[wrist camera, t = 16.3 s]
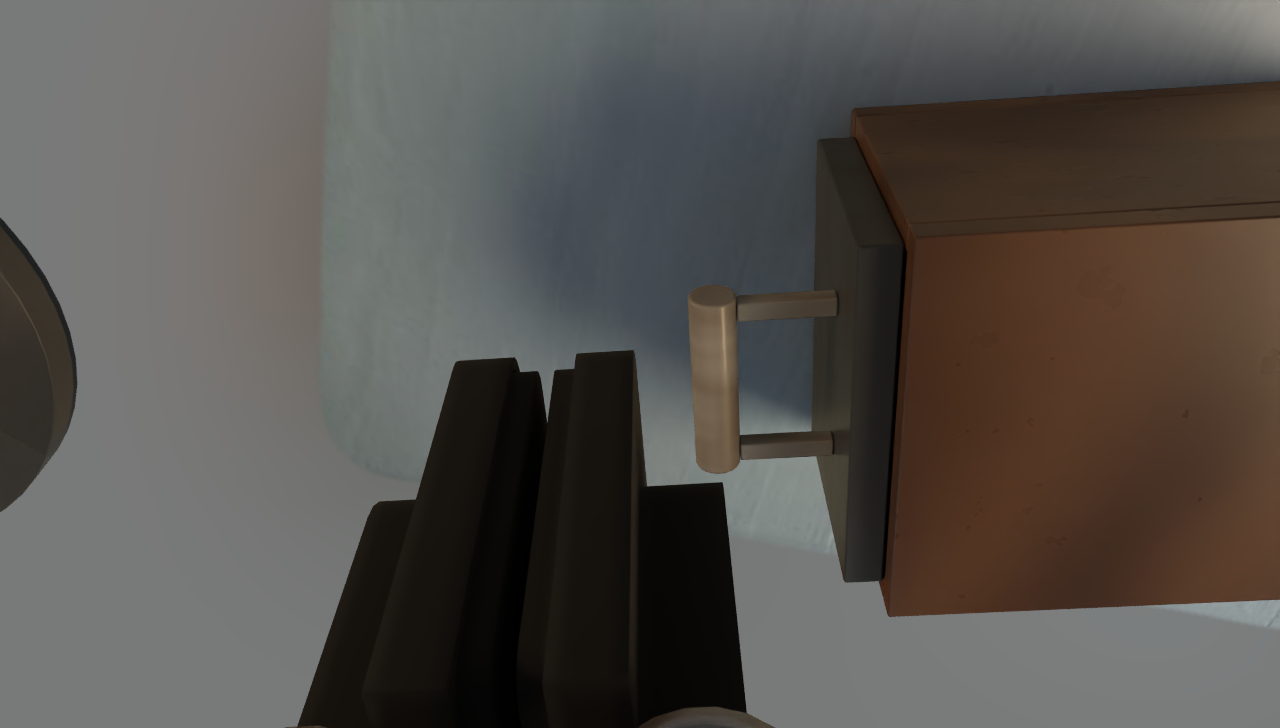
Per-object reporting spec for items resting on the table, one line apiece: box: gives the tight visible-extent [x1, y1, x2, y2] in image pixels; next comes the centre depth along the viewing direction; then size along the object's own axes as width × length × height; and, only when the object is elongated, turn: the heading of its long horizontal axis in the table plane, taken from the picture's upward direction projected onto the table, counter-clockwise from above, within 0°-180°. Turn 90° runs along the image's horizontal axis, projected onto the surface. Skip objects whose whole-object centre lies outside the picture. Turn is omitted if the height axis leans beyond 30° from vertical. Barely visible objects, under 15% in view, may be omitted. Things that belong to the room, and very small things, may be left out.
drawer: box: [688, 137, 907, 582], centre depth 33 cm, size 18×11×8 cm, turn 94°
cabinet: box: [851, 81, 1280, 617], centre depth 33 cm, size 15×13×10 cm
